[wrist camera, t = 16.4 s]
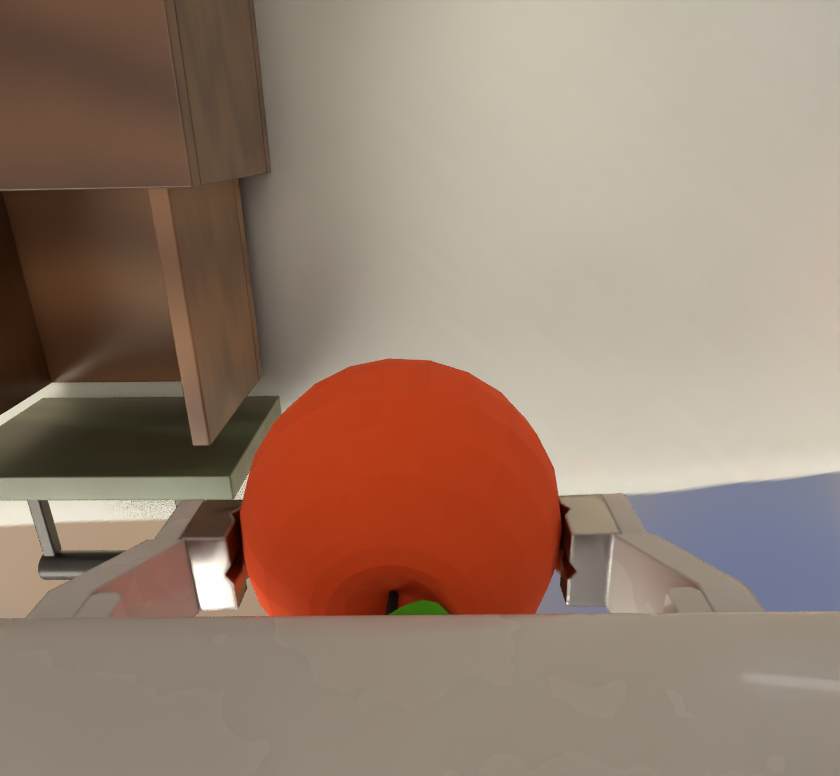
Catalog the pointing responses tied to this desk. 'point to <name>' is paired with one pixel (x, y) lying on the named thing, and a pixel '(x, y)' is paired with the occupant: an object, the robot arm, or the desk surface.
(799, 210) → the desk surface
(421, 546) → the clementine
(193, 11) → the cabinet
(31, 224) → the drawer
